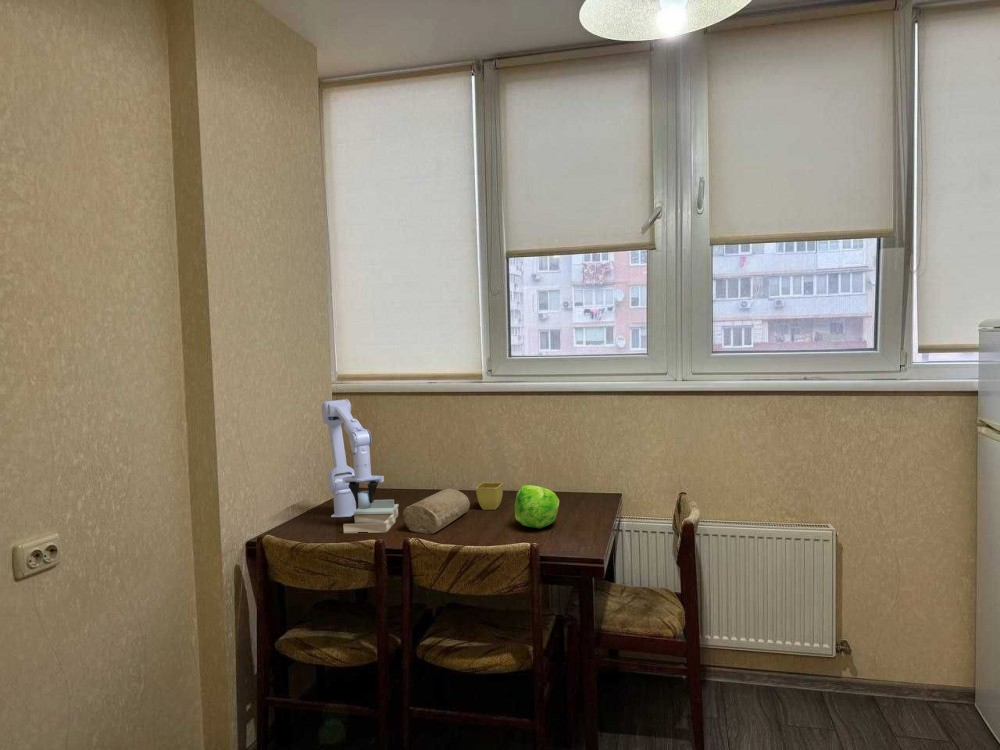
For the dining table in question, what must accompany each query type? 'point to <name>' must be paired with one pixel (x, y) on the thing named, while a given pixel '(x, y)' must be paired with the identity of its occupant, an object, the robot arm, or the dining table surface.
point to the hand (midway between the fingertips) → (364, 502)
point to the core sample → (436, 511)
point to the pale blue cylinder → (363, 500)
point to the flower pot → (489, 495)
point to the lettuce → (536, 506)
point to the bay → (371, 523)
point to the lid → (379, 507)
